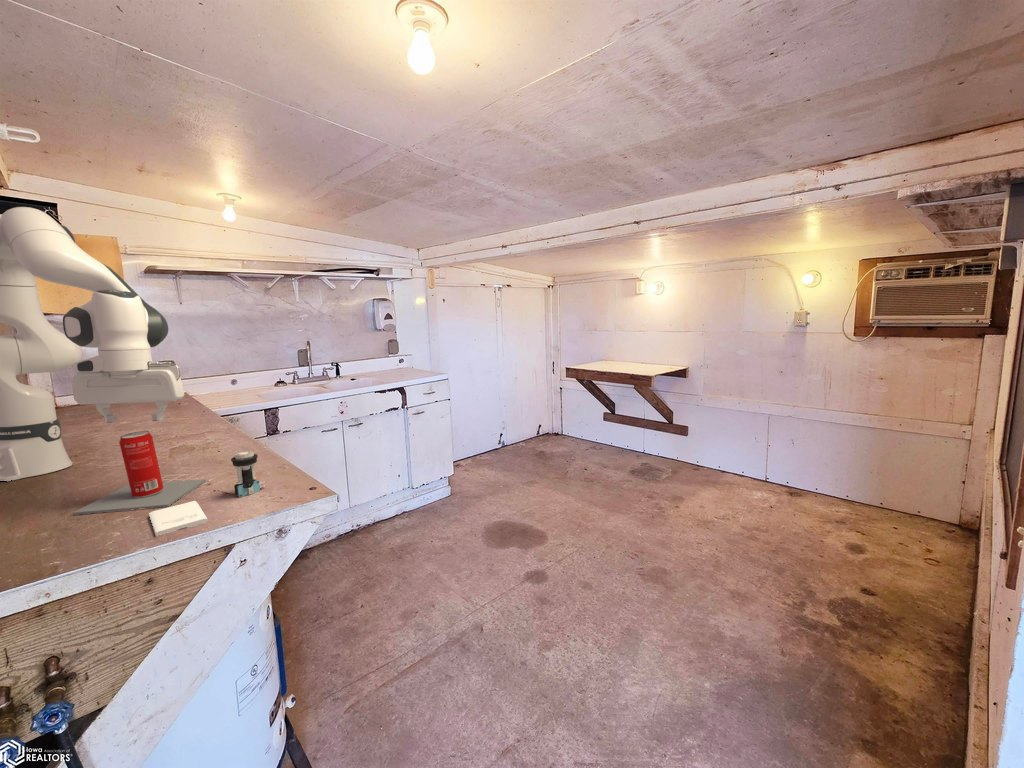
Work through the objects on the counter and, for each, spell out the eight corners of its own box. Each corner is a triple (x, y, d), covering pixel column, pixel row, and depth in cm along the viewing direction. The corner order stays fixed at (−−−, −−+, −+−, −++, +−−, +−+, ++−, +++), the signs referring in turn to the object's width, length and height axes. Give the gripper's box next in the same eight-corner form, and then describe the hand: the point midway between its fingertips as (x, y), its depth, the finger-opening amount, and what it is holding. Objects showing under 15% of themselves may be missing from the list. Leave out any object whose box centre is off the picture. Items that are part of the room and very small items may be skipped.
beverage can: (170, 489, 101) (162, 429, 99) (144, 500, 95) (135, 436, 93) (148, 488, 102) (139, 429, 100) (121, 499, 95) (111, 436, 93)
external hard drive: (197, 507, 93) (208, 524, 85) (149, 519, 88) (156, 539, 79) (196, 500, 93) (207, 517, 84) (148, 512, 87) (155, 531, 79)
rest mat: (73, 515, 89) (72, 512, 89) (126, 487, 104) (126, 485, 104) (168, 507, 92) (167, 504, 92) (205, 481, 108) (205, 479, 108)
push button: (259, 485, 104) (255, 447, 103) (271, 489, 101) (267, 450, 100) (230, 495, 99) (226, 454, 97) (242, 499, 96) (237, 457, 94)
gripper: (186, 360, 99) (192, 416, 101) (86, 362, 95) (95, 420, 97) (170, 362, 93) (177, 422, 95) (62, 364, 89) (72, 427, 91)
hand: (135, 421), depth 96 cm, fingers open, 8 cm apart
